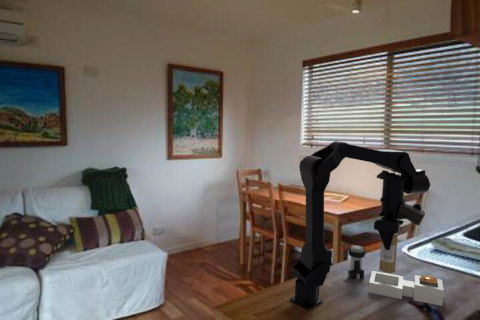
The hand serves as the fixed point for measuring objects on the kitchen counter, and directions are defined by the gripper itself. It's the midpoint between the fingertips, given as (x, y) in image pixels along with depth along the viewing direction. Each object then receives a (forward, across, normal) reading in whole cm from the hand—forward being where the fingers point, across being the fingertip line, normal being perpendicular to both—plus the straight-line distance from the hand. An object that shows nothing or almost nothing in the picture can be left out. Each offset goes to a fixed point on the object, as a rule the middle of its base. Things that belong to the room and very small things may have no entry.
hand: (388, 247), depth 107 cm
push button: (+13, +2, +10) cm, 17 cm away
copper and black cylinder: (+13, +1, -11) cm, 17 cm away
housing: (+13, +1, -5) cm, 14 cm away
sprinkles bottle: (+7, 0, 0) cm, 7 cm away
